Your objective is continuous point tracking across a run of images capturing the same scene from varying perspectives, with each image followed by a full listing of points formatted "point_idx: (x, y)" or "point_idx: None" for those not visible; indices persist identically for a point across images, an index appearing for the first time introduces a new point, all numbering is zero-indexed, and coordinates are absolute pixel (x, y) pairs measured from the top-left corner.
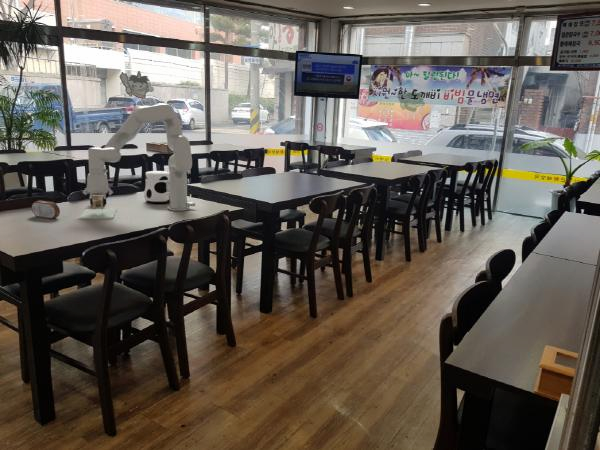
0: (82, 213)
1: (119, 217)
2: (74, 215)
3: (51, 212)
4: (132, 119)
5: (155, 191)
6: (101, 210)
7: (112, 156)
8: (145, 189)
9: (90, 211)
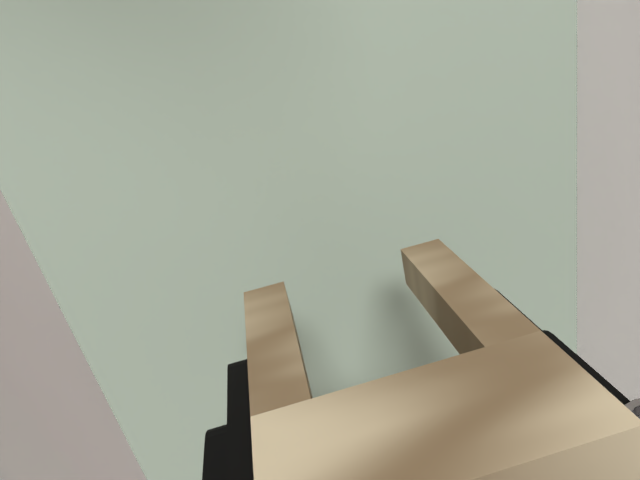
0: (96, 379)
1: (630, 377)
2: (14, 440)
3: None
4: None
5: None
6: (307, 71)
7: None
8: None
9: (143, 207)
